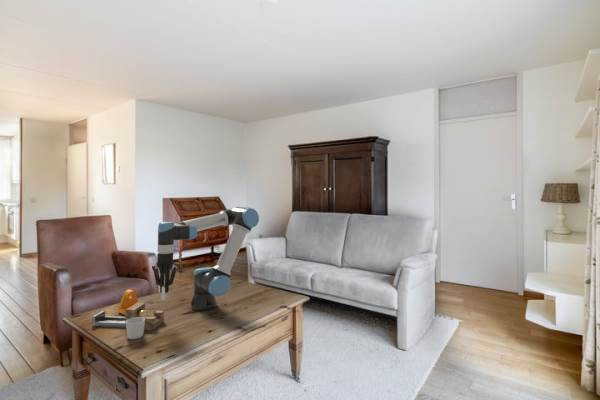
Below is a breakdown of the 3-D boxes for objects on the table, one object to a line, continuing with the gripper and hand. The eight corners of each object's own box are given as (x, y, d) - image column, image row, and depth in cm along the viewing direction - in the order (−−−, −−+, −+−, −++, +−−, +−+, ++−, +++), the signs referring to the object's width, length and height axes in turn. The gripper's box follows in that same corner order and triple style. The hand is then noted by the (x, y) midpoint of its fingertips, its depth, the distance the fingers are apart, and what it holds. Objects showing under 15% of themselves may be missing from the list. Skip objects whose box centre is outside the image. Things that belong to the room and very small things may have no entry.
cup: (132, 331, 157) (132, 314, 157) (149, 331, 158) (149, 314, 158) (122, 341, 146) (122, 323, 146) (140, 341, 147) (140, 323, 147)
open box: (163, 321, 170) (164, 303, 170) (153, 329, 159) (154, 310, 159) (137, 320, 170) (137, 302, 170) (125, 328, 159) (126, 309, 159)
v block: (135, 321, 169) (135, 311, 169) (126, 327, 161) (126, 317, 161) (102, 320, 169) (103, 310, 169) (92, 326, 161) (92, 316, 161)
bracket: (123, 316, 176) (124, 294, 176) (118, 313, 180) (118, 291, 180) (143, 311, 184) (143, 290, 184) (137, 308, 189) (138, 287, 188)
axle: (156, 317, 167) (156, 309, 166) (152, 321, 162) (152, 312, 162) (129, 316, 167) (129, 308, 167) (124, 320, 163) (124, 311, 163)
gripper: (181, 251, 168) (179, 297, 168) (156, 250, 168) (154, 296, 168) (175, 254, 160) (173, 301, 160) (149, 253, 160) (147, 300, 160)
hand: (164, 298), depth 164 cm, fingers closed
